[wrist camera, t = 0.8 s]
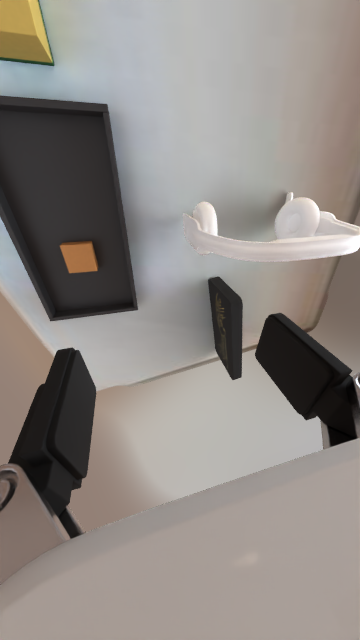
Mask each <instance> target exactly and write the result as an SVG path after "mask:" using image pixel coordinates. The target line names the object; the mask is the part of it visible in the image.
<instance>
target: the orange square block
mask: <svg viewBox="0 0 360 640" xmlns="http://www.w3.org/2000/svg"><path fill="white" fill-rule="evenodd" d="M60 248H61V251H62V253H63V256H64V259H65V262H66V265H67V268H68V271H69V273H78V272H90V271H98V263H97V259H96V255H95V251H94V247H93V243H92V241H85V242H67V243H62V244H61V245H60Z"/></svg>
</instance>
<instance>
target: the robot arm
mask: <svg viewBox="0 0 360 640" xmlns="http://www.w3.org/2000/svg"><path fill="white" fill-rule="evenodd" d="M255 356H256V359H257V360H258V362H259V363H260V364H261V366H262V367H263V368H264V369H265V371H266V372H267V373H268V375H269V376H270V377H271V379H272V380H273V381H274V383H275V384H276V385H277V386H278V388H279V389H280V391H281V392H282V393H283V394H284V396H285V397H286V398H287V400H288V401H289V402H290V404H291V405H292V406H293V408H294V409H295V410H296V411H297V412H298V413H299V414H301V415H302V416H303V417H304V419H305V420H309V419H312V418H315V417H316V416H318V417H319V418H320V420H321V428H322V438H323V449H324V450H321V451H318V452H315V453H312V454H309V455H306V456H303V457H300V458H297V459H294V460H291V461H288V462H285V463H282V464H279V465H276V466H274V467H270V468H268V469H264V470H262V471H259V472H256V473H253V474H250V475H247V476H244V477H241V478H238V479H235V480H232V481H229V482H226V483H223V484H220V485H217V486H215V487H212V488H209V489H206V490H203V491H200V492H197V493H194V494H192V495H189V496H186V497H183V498H180V499H177V500H174V501H171V502H168V503H165V504H162V505H160V506H157V507H154V508H151V509H148V510H145V511H143V512H140V513H137V514H134V515H132V516H129V517H126V518H123V519H121V520H118V521H115V522H112V523H110V524H107V525H104V526H102V527H99V528H96V529H94V530H91V531H89V532H87V533H86V531H85V530H84V528H83V527H82V526H81V524H80V523H79V521H78V519H77V518H76V516H75V515H74V514H73V512H72V511H71V509H70V508H69V506H68V504H69V503H70V497H71V490H74V489H78V488H80V487H81V482H82V478H85V477H86V475H87V470H88V460H89V452H90V443H91V435H92V426H93V417H94V408H95V399H96V387H95V385H94V383H93V380H92V378H91V376H90V374H89V371H88V369H87V367H86V365H85V362H84V360H83V358H82V356H81V353H80V351H79V350H75V349H74V348H67V349H61V350H58V351H57V352H56V355H55V358H54V360H53V363H52V366H51V368H50V372H49V374H48V377H47V379H46V382H45V384H42V385H40V386H39V388H38V390H37V392H36V394H35V397H34V399H33V402H32V404H31V407H30V409H29V413H28V415H27V417H26V420H25V422H24V425H23V427H22V430H21V432H20V435H19V437H18V440H17V442H16V445H15V447H14V450H13V452H12V455H11V458H10V460H9V462H8V464H4V465H1V466H0V640H360V373H357V374H355V375H354V376H353V377H351V376H350V375H349V374H350V373H351V372H352V370H351V369H350V368H349V367H347V366H346V365H345V364H344V363H342V362H341V361H340V360H339V359H338V358H336V357H335V356H334V355H333V354H331V353H330V352H329V351H328V350H327V349H325V348H324V347H323V346H322V345H320V344H319V343H318V342H317V341H316V340H314V339H313V338H312V337H311V336H309V335H308V334H307V333H306V332H305V331H303V330H302V329H301V328H300V327H298V326H297V325H296V324H295V323H294V322H292V321H291V320H290V319H289V318H287V317H286V316H285V315H284V314H282V313H277V314H271V315H269V316H268V318H267V319H266V320H265V323H264V327H263V330H262V333H261V336H260V340H259V343H258V346H257V349H256V353H255Z"/></svg>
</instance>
